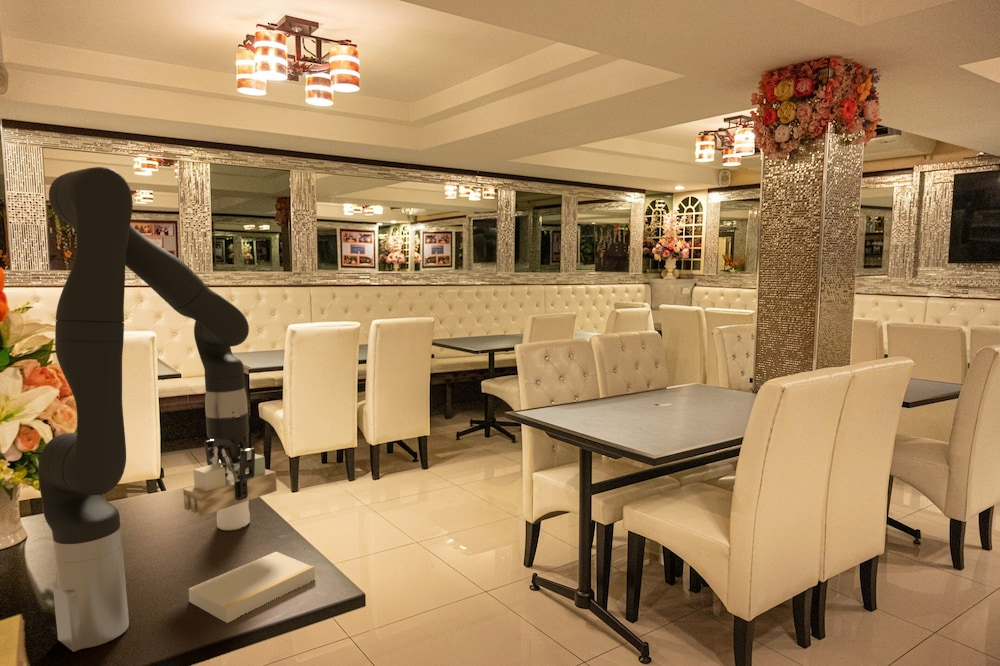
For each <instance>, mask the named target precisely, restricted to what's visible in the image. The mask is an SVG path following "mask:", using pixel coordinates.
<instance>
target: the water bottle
mask: <svg viewBox="0 0 1000 666" xmlns="http://www.w3.org/2000/svg"><path fill="white" fill-rule="evenodd" d="M213 458H214V457H213ZM213 458H212V459H213ZM234 465H235V464H234ZM222 466H223V465H222ZM225 473H228V476H229V475H232V474H233V473H232V472H231V471H229V469H228V470H227V472H225ZM249 502H250V500H248V501H245V502H242V503H239V504H236V505H233V506H230V507H227V508H224V509H221V510H218V511H216V526H217V528H218V529H220V530H221V531H222V530H223V531H236V530H240V529H243V528H245V527H246V526H247V525H248V524H249V523H250V521H251V515H250V508H249V504H250V503H249ZM242 527H243V528H242Z"/></svg>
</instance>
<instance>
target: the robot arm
mask: <svg viewBox="0 0 1000 666" xmlns="http://www.w3.org/2000/svg"><path fill="white" fill-rule="evenodd" d="M48 200H49V204H50V207H51V208H52V211H53V212H54V213H55V215H57V217H58V218H59V219H60V220H61V221H62V222H64V223H65V224H67V225H68V226H70V227H71V228H73V229H74V230H75V232H76V233H75V235H76V239H75V240H76V243H75V244H76V245H75V254H74V260H73V263H72V266H71V268H70V271H69V274H68V276H67V279H66V281H65V284H64V286H63V289H62V291H61V293H60V296H59V299H58V301H57V302H58V303H57V306H56V313H55V329H54V330H55V331H54V332H55V334H54V346H55V347H54V348H55V349H54V351H55V354H56V359H57V362H58V365H59V367H60V369H61V371H62V374H63V377H64V378H65V380H66V383H67V384H68V387H69V388H70V390H71V393H72V396H73V399H74V403H75V407H76V432H67V433H61V434H59V435H57V436H55V437H53V438H51V439H50V440H49V441H47V443H46V444H45V445H44V447H43V449H42V451H41V453H40V455H39V459H38V466H37V476H38V486H39V492H40V497H41V498H40V499H41V505H42V510H43V514H44V515H43V516H44V519H45V522H46V523H47V526H49V528H50V530H51V532H52V541H53V552H54V562H55V570H56V571H55V572H56V579H57V580H56V581H57V582H55V583H53V584H52V590H53V591H52V592H53V602H54V612H55V614H54V615H55V622H56V630H57V633H56V634H57V640H58V641H59V642H60V643H62V644H63V645H64V646H65V647H67V649H69V650H70V651H72V652H73V653H74V652H77V651H79V650H81V649H87V648H94V647H97V646H101V645H103V644H106V643H109V642H110V641H113V640H114V639H117V638H118V637H120V636H121V635H122V634H123V633H125V632H126V631H127V630H128V628H129V626H130V620H129V607H128V598H127V596H128V595H127V587H126V586H127V585H126V574H125V564H124V563H125V562H124V553H123V552H124V551H123V541H122V540H123V539H122V531H121V530H122V529H121V528H122V527H121V517H120V516H121V515H120V512H119V510H118V508H117V507H116V506H114V505H113V504H112V503H110V502H109V501H108V500H107V499H106V498H105V497H104V496H103V495H105V494H107V493H109V492H111V491H112V490H114V489H115V488H116V487H117V486H118V484H119V483H120V481H121V479H122V478H123V476H124V472H125V469H126V464H127V447H126V446H127V443H126V434H125V433H126V432H125V421H124V419H125V418H124V410H123V409H124V407H123V353H124V352H123V351H124V342H125V339H124V337H125V336H124V335H125V333H124V332H125V290H126V289H125V288H126V287H125V285H126V267H127V268H128V269H129V270H130V271H132V273H134V274H135V275H136V276H137V277H139V278H140V279H141V280H142V281H143V282H144V283H145V284H147V285H148V287H150V288H151V289H152V290H153V291H154V292H155V293H156V294H157V295H158V296H159V298H162V300H164V301H165V302H166V303H167V304H168V305H169V306H170V307H171V308H172V309H173V310H174V311H175V312H177V313H178V314H180V315H181V316H183V317H186V318H190V319H191V320H195V321H194V328H193V335H194V340H195V341H194V342H195V344H196V347H197V351H198V354H199V358H200V361H201V363H202V365H203V369H204V384H205V398H204V399H205V400H204V405H205V406H204V410H205V423H206V436H207V438H208V440H207V439H206V440H204V442H203V445H204V450H205V457H206V463H207V465H206V466H208V465H211V464H215V465H218V466H221V467H225V472H227V470H228V469H229V471H231V472H232V473H233V476H234V480H235V482H234V484H235V498H236V500H243V499H246V498H247V496H248V491H247V479H249V478H253V477H254V472H255V454H256V450H255V448H254V447H251V448H247V447H246V444H245V440H244V438H245V436H247V435H248V433H249V432H250V431H249V430H250V428H249V413H248V412H249V411H248V397H247V392H246V387H245V385H246V384H245V368H244V364H243V361H242V360H240V359H239V358H237V357H236V356H234V353H233V352H232V348H231V347H236V346H239V345H241V344H243V343H244V342H245V341H246V340H247V338H248V336H249V333H250V332H249V331H250V326H249V323H248V320H247V318H246V316H245V315H244V313H243V312H242V311H241V310H240V309H239V308H237V307H236V306H235V305H234V304H232V303H231V302H230V301H228V300H227V299H225V297H222V296H221V294H219V293H217V292H215V291H214V290H212V289H211V288H210V287H209V286H208V285H207V283H205V282H204V281H203V280H202V279H201V278H200V277H199V276H198V275H197V274H196V273H195V272H194V270H192V269H191V268H190V266H188V265H187V264H186V263H185V262H184V261H182V260H181V259H180V258H178V257H177V256H175V254H173V253H171V252H170V251H168V250H167V249H165V248H163V247H162V246H160V245H159V244H157V243H156V242H154V241H152V240H151V239H150V238H148V237H147V236H145V235H144V234H143V233H141V232H140V231H139V230H137V228H135V227H134V226H133V225H132V223H131V222H132V216H133V208H134V207H133V205H134V201H133V194H132V191H131V187H130V185H129V183H128V182H127V180H126V179H125V178H124V176H122V175H121V174H120V173H119V172H118V171H116V170H114V169H113V168H109V167H105V166H94V167H88V168H87V167H86V168H83V169H79V170H74V171H69V172H65V173H64V174H61V175H59V176H58V177H57V178H55V179H54V180H53V181H52V182H51V185H50V187H49V190H48ZM213 457H214V458H213ZM239 462H240V464H238V465H234V464H236V463H239ZM222 465H223V466H222ZM247 468H249V472H248V470H247ZM237 469H240V473H239V474H238V470H237ZM226 476H228V473H225V477H226Z"/></svg>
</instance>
